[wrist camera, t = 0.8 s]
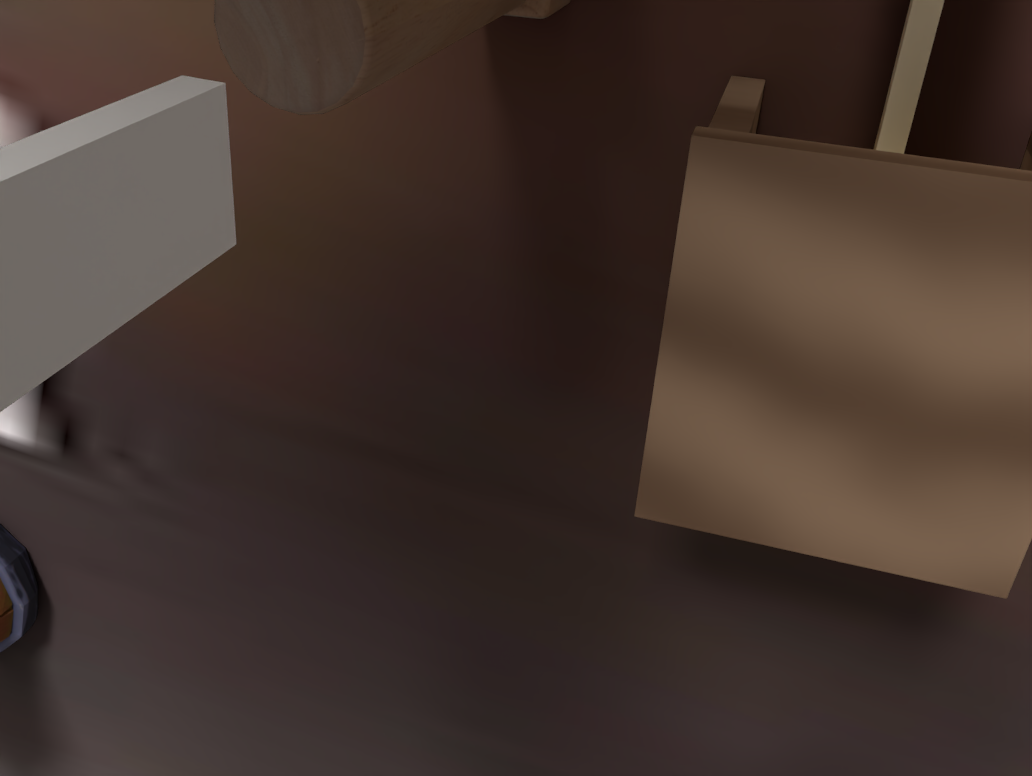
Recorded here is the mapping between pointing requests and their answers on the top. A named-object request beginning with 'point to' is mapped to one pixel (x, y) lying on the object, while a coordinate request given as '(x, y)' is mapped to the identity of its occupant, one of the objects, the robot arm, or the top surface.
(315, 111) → the wooden block
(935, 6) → the block
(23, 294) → the robot arm
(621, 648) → the top surface
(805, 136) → the top surface
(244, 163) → the top surface
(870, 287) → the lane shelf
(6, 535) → the mug
